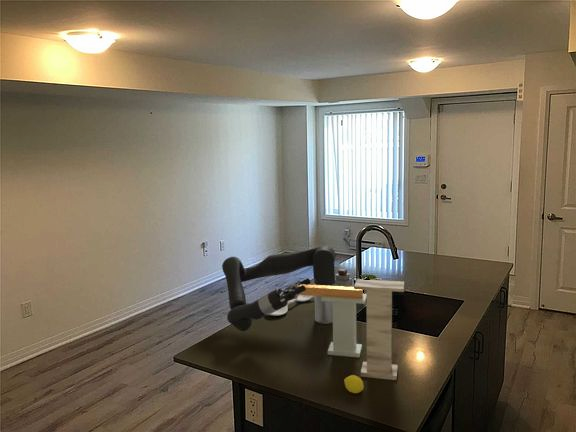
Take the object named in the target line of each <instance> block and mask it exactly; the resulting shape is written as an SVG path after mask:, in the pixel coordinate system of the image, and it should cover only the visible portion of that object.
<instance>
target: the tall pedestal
mask: <svg viewBox="0 0 576 432" xmlns="http://www.w3.org/2000/svg"><path fill="white" fill-rule="evenodd" d="M353 287H354V289H359V290H366V293H367V298H366V361H362V364H361V365H362V366H361V369H360V378H374V379H379V380H380V379H382V380H392V381H397V377H398V366H399V365H398V364H394V363H393V364H392V361H393V360H392V359H393V358H392V357H393V355H392V351H393V349H392V348H393V347H392V346H393V345H392V343H393V342H392V341H393V332H392V331H393V329H392V328H393V292H399V293H401V292H402V293H404V292H405V281H400V280H382V279H379V280H378V279H377V280H363V279H360V278H356V280H355V283H354V286H353Z"/></svg>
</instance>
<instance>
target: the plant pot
mask: <svg viewBox="0 0 576 432" xmlns="http://www.w3.org/2000/svg"><path fill="white" fill-rule="evenodd" d="M361 275H362V278H363V279H364V278H365V277H369V279H370V280H378V276H377V275H375V274H369V273H368V274H367V273H366V274H361ZM364 292H365V294H367V293H366V290H364Z"/></svg>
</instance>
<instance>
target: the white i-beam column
mask: <svg viewBox="0 0 576 432" xmlns="http://www.w3.org/2000/svg"><path fill="white" fill-rule="evenodd" d="M321 301H328V302H332V305H333V323H332V340H333V341H330V344H329V345H328V349H327V355H329V356H330V355H331V356H339V357H352V358H360V357H361V353H362V349H363V344H361V343H357V304H361V305H362V304H363V305H365V304H366V302H367V294H364V293H363V298H362V299H359V298H342V297H325V296H322V298H321Z"/></svg>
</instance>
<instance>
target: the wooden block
mask: <svg viewBox="0 0 576 432" xmlns="http://www.w3.org/2000/svg"><path fill="white" fill-rule="evenodd" d="M301 285H304V286H305V288H306V290H305V291H303V292H301V293H300V294H298V295H305V296H306V295H308V296H325V297H342V298H359V299H362V298H363V294H364V293H363V290H359V289H354V286H352V287H343V286H324V285H314V284H308V285H305V284H300V286H301ZM300 286H299V285H298V287H300Z"/></svg>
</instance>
